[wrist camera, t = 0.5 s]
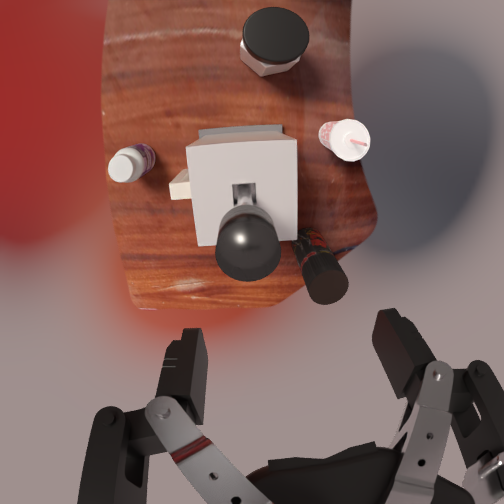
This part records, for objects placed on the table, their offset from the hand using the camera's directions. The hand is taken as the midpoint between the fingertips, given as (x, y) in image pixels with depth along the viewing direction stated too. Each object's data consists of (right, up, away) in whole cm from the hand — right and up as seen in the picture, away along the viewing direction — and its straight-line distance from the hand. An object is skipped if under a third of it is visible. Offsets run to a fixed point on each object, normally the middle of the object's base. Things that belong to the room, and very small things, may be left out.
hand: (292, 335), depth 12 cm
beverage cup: (+11, +23, +32) cm, 41 cm away
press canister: (-4, +18, +33) cm, 38 cm away
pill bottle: (-20, +20, +32) cm, 43 cm away
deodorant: (+8, +6, +41) cm, 42 cm away
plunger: (-3, +11, +19) cm, 22 cm away
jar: (+1, +35, +25) cm, 43 cm away
